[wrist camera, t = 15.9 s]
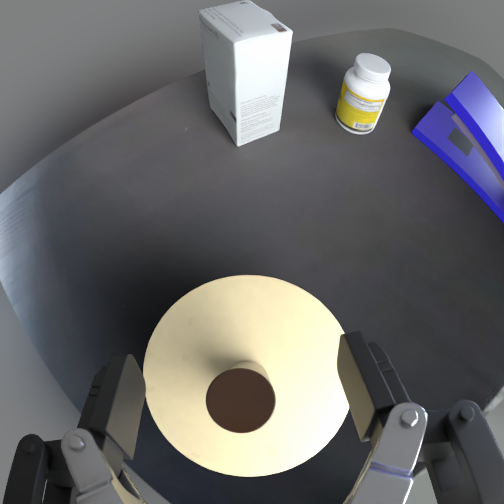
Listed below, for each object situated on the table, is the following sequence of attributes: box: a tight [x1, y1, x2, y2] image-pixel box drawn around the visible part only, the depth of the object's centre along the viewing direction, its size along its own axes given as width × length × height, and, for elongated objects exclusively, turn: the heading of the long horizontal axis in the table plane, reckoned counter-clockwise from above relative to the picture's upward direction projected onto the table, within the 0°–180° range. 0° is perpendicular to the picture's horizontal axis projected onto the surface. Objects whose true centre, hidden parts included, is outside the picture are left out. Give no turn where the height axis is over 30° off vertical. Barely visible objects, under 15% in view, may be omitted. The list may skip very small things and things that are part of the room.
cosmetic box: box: [198, 0, 293, 146], centre depth 28 cm, size 8×6×15 cm
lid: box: [143, 275, 349, 477], centre depth 14 cm, size 13×13×9 cm
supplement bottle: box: [335, 53, 391, 134], centre depth 30 cm, size 5×5×10 cm
